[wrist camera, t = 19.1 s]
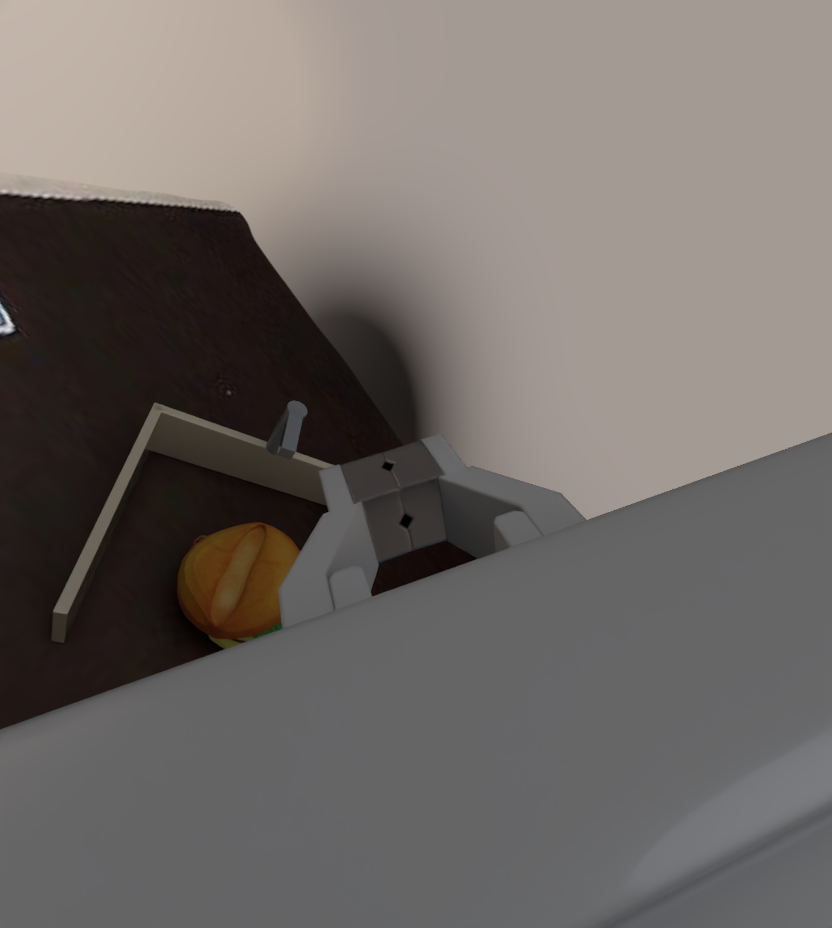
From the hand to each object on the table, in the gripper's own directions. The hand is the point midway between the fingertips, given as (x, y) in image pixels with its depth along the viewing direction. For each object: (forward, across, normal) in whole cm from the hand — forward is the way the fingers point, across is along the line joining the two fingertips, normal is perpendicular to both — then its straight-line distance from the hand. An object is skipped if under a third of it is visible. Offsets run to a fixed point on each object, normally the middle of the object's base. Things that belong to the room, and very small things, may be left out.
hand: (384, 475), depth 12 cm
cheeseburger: (+23, +12, +26) cm, 36 cm away
